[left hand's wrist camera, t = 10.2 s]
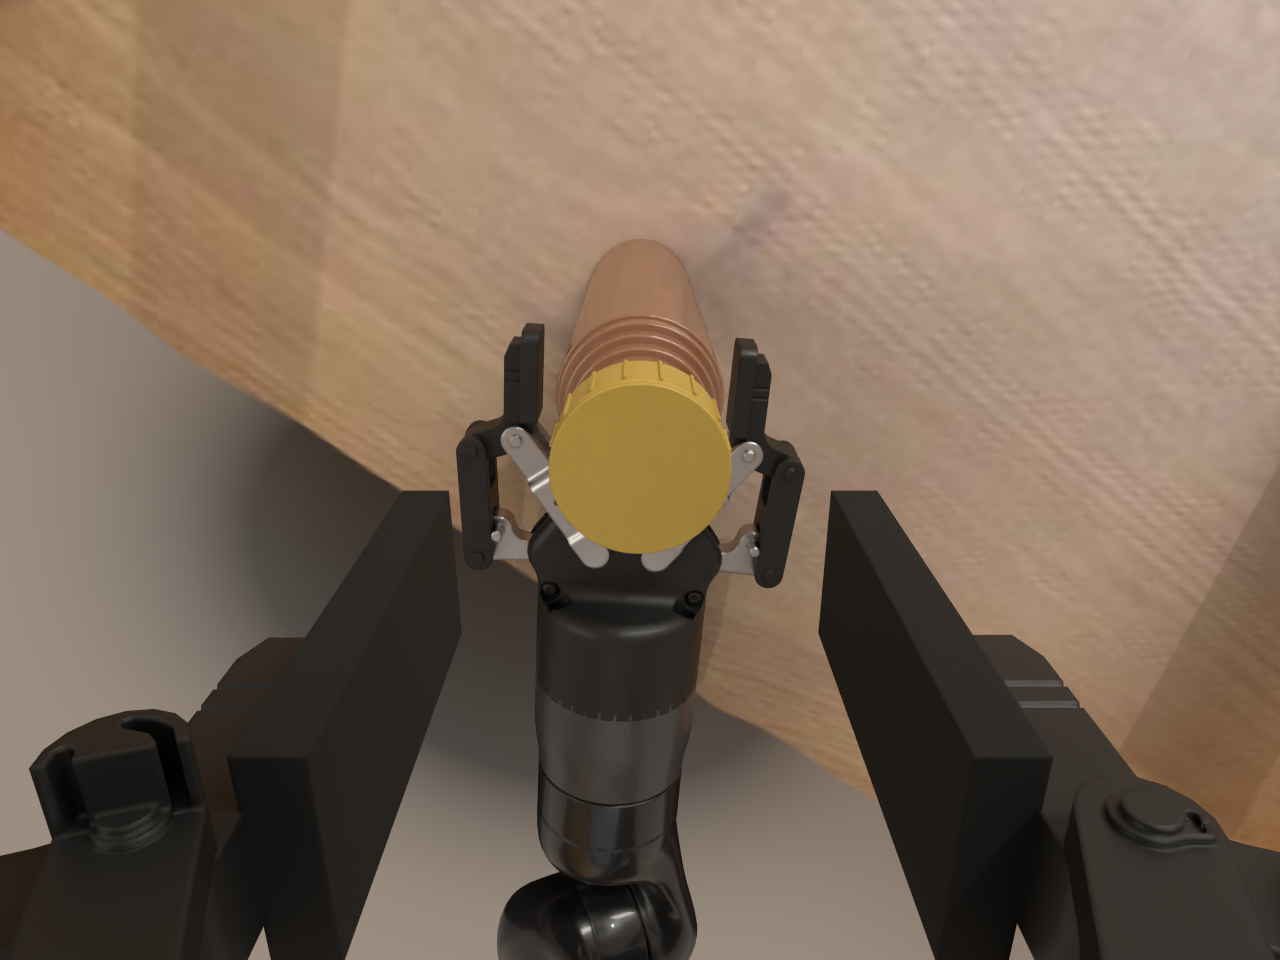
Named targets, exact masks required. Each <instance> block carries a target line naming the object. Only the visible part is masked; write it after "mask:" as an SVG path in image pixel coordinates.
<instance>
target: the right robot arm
mask: <svg viewBox="0 0 1280 960" xmlns="http://www.w3.org/2000/svg"><path fill="white" fill-rule="evenodd" d="M543 369H544V324H535V323H526V325H525V327H524V328H523V331H522V337H515V336H514V338H513V340H512V341H511V343H510V344H509V347H508V349H507V351H506V354H505V356H504V415H502V416H501V417H499V418H497V419H493V420H490V421H482V420H478V421H475V422H473V423H471V424H470V426H469V427H468V429H467V431H466V434H465V436H464V438H463V439H462V440H461V441H460V443H459V444H458V446H457V449H456V456H457V469H458V482H459V495H460V508H461V521H462V533H463V546H464V558H465V562H466V563H467V565H468V566H469V567H471V568H473V569H476V570H483V569H486V568H487V567H489V566H490V565H491V563H492V560H529V561H530V563H531V564H532V566H533V567H534V569H535V571H536V574H537V577H538V617H537V652H536V675H535V680H536V693H535V722H536V732H537V738H538V745H539V774H538V805H537V825H538V834H539V840H540V843H541V846H542V849H543V851H544V853H545V855H546V857H547V858H548V860H549V861H550V863H551V864H552V865H553V866H554V867H555V868H556V869H557V870H558V871H560V872H558V873H555V874H552V875H549V876H546V877H543V878H540V879H538V880H535V881H533V882H530V883H528V884H527V885H525V886H523V887H521V888H520V889H519V890H517V891H516V892H515V893H514V894H513V895H512V896H511V898H510V899H509V901H508V902H507V904H506V906H505V908H504V910H503V913H502V915H501V918H500V923H499V927H498V934H497V951H498V958H499V960H689V958H690V956H691V954H692V952H693V949H694V947H695V943H696V937H697V922H696V916H695V911H694V907H693V903H692V899H691V895H690V892H689V888H688V885H687V881H686V877H685V873H684V869H683V863H682V857H681V851H680V845H679V838H678V832H677V823H676V816H677V808H678V798H679V789H680V779H681V770H682V762H683V757H684V753H685V750H686V746H687V743H688V739H689V735H690V731H691V724H692V718H693V710H694V700H695V691H696V682H697V673H698V664H699V655H700V646H701V637H702V628H703V619H704V610H705V601H706V593H707V589H708V587H709V584H710V583H711V581H712V580H713V578H714V577H715V576H716V574H717V573H718V572H719V571H720V572H729V573H738V574H746V575H754V576H755V580H756V582H757V583H758V584H759V585H760V586H762V587H764V588H772V587H775V586H777V585H778V584H779V583H780V582H781V580H782V578H783V573H784V568H785V564H786V559H787V554H788V550H789V545H790V541H791V536H792V531H793V527H794V522H795V517H796V513H797V508H798V503H799V499H800V494H801V490H802V485H803V480H804V476H805V470H804V467H803V465H802V463H801V461H800V459H799V457H798V455H797V453H796V451H795V449H794V447H793V445H792V444H791V443H789V442H787V441H778V440H775V439H773V438H771V437H769V436H767V435H766V434H765V433H764V430H765V422H766V414H767V407H768V398H769V391H770V383H771V371H770V368H769V364H768V361H767V360H766V358H765V356H764V354H758V349H757V345H756V343H755V342H754V340H753V339H745V338H736V339H735V344H734V353H733V362H732V371H731V380H730V389H729V398H728V407H727V416H726V423H727V426H728V429H729V432H728V433H727V436H728V439H729V442H730V446H731V449H732V453H731V454H730V456H731V481H730V487H729V490H728V493H727V497H726V499H725V501H724V503H723V505H722V507H721V509H722V508H723V507H724V506H725V505H726V503H727V502H728V500H729V498H730V495H731V494H732V492H733V491H734V490H735V489H736V488H737V487H738V486H739V485H740V484H741V483H742V482H743V481H744V480H745V479H746V478H747V477H748V476H749V475H750V474H751V473H752V472H753V471H754V470H755V471H757V472H760V473H762V474H763V479H762V484H761V489H760V494H759V499H758V504H757V509H756V514H755V519H754V524H746V525H744V526H742V527H741V528H740V529H739V530H738V532H737V535H736V537H735V538H734V540H732V541H731V542H729V543H726V544H720V543H719V540H718V538H717V536H716V534H715V533H714V531H713V530H712V528H711V527H710V525H708V526H707V527H706V528H705V529H704V530H703V531H702V532H701V533H699V534H698V535H697V536H695V537H694V538H692V539H691V540H689V541H687V542H685V543H684V544H682V545H680V546H677V547H675V548H672V549H669V550H665V551H662V552H656V553H649V554H632V553H623V552H619V551H614V550H611V549H608V548H605V547H603V546H601V545H598V544H596V543H594V542H592V541H591V540H589V539H588V538H586V537H585V536H583V535H582V534H581V533H580V532H578V531H577V530H576V529H575V528H574V527H573V526H572V525H571V524H570V523H569V522H568V521H567V519H566V518H565V517H564V515H563V514H562V512H561V511H560V509H559V507H558V505H557V503H556V501H555V499H554V496H553V493H552V491H551V486H550V481H549V470H548V467H549V456H550V451H551V447H549V444H550V440H551V437H550V436H549V435H548V433H547V432H546V431H545V429H544V428H543V426H542V425H541V424H540V422H539V421H538V419H539V417H540V414H541V411H542V406H543ZM506 454H508V455H509V457H510V458H511V459H512V461H513V462H514V463H515V465H516V466H517V467H518V469H519V470H520V471H521V472H522V474H523V475H524V476H525V478H526V479H527V481H528V483H529V487H530V490H531V491H532V493H533V495H534V496H535V497H536V499H537V500H538V501H539V503H540V504H541V505H542V507H543V508H544V509H545V510H546V513H545V514H544V515H543V517H542V518H541V519H540V520H539V521H538V522H537V524H536V525H535V526H534V527H533V529H532V531H531V532H526V531H523V530H521V529H520V528H519V527H518V526H517V524H516V521H515V517H514V515H513V514H512V513H511V512H510V511H509V510H507V509H503V508H499V492H498V475H497V458H496V457H498V456H502V455H506ZM721 509H720V510H721Z"/></svg>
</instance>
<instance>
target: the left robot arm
mask: <svg viewBox="0 0 1280 960" xmlns="http://www.w3.org/2000/svg"><path fill="white" fill-rule="evenodd" d="M460 636H461V622H460V611H459V599H458V588H457V577H456V566H455V554H454V543H453V532H452V521H451V509H450V498H449V491H402V493H401V494H400V496H399V497H398V499H397V500H396V502H395V503H394V505H393V506H392V508H391V509H390V511H389V512H388V514H387V515H386V517H385V518H384V520H383V522H382V523H381V525H380V526H379V528H378V529H377V531H376V532H375V534H374V535H373V537H372V538H371V540H370V541H369V543H368V544H367V546H366V547H365V549H364V550H363V552H362V553H361V555H360V556H359V558H358V559H357V561H356V562H355V564H354V565H353V567H352V568H351V570H350V571H349V573H348V574H347V576H346V577H345V579H344V580H343V582H342V583H341V585H340V586H339V588H338V589H337V591H336V592H335V594H334V595H333V597H332V598H331V600H330V601H329V603H328V604H327V606H326V607H325V609H324V610H323V612H322V613H321V615H320V616H319V618H318V620H317V621H316V623H315V624H314V625H313V627H312V629H311V630H310V632H309V633H308V634H307V636H306V638H267V639H266V640H265V641H263V642H262V643H260V644H259V645H257V646H256V647H254V648H253V649H251V650H250V651H248V652H247V653H245V654H244V655H242V656H241V657H239V658H238V659H237V660H236V661H235V662H234V664H233V665H232V666H231V667H230V669H229V670H228V671H227V673H226V674H225V675H224V677H223V678H222V679H221V680H220V682H219V683H218V684H217V690H213V691H212V692H211V693H210V695H209V696H208V698H207V699H206V700H205V701H204V703H203V704H202V705H201V711H197V712H196V713H195V714H194V716H193V717H192V718H191V720H190V721H189V722H188V723H187V722H186V721H185V720H183V719H182V718H181V717H180V716H178V715H177V714H176V713H172V712H167V711H161V710H156V709H148V710H134V711H125V712H121V713H117V714H114V715H110V716H106V717H103V718H99V719H96V720H93V721H91V722H89V723H87V724H85V725H83V726H80V727H78V728H76V729H74V730H72V731H70V732H68V733H66V734H65V735H63V736H62V737H61V738H59V739H58V740H56V741H55V742H54V743H52V744H51V745H49V746H48V747H47V748H45V749H44V750H43V751H42V752H41V754H40V755H39V756H38V758H37V759H36V760H35V762H34V763H33V764H32V765H31V767H30V768H29V770H30V773H31V776H32V779H33V782H34V785H35V788H36V791H37V794H38V798H39V801H40V804H41V807H42V810H43V813H44V816H45V819H46V822H47V825H48V828H49V831H50V834H51V837H52V841H51V844H47V845H44V846H40V847H37V848H33V849H29V850H24V851H20V852H16V853H11V854H7V855H2V856H0V960H248V958H249V956H250V954H251V951H252V949H253V947H254V945H255V943H256V941H257V939H258V937H259V935H260V933H261V930H262V928H263V926H264V930H265V934H266V939H267V943H268V948H269V953H270V957H271V960H345V958H346V955H347V952H348V949H349V947H350V944H351V941H352V938H353V935H354V932H355V930H356V927H357V924H358V921H359V919H360V916H361V913H362V910H363V907H364V905H365V902H366V899H367V896H368V893H369V890H370V888H371V885H372V882H373V879H374V877H375V874H376V871H377V868H378V865H379V863H380V860H381V857H382V854H383V851H384V849H385V846H386V843H387V840H388V837H389V834H390V832H391V829H392V826H393V823H394V821H395V818H396V815H397V812H398V809H399V807H400V804H401V801H402V798H403V795H404V793H405V790H406V787H407V784H408V781H409V779H410V776H411V773H412V770H413V767H414V765H415V762H416V759H417V756H418V753H419V751H420V748H421V745H422V742H423V739H424V737H425V734H426V731H427V728H428V725H429V723H430V720H431V717H432V714H433V711H434V709H435V706H436V703H437V700H438V697H439V695H440V692H441V689H442V686H443V683H444V681H445V678H446V675H447V672H448V669H449V667H450V664H451V661H452V658H453V655H454V653H455V650H456V647H457V644H458V642H459V639H460ZM819 636H820V639H821V642H822V644H823V647H824V650H825V653H826V655H827V658H828V661H829V664H830V667H831V669H832V672H833V675H834V678H835V681H836V683H837V686H838V689H839V692H840V695H841V697H842V700H843V703H844V706H845V709H846V711H847V714H848V717H849V720H850V723H851V725H852V728H853V731H854V734H855V737H856V739H857V742H858V745H859V748H860V751H861V753H862V756H863V759H864V762H865V765H866V767H867V770H868V773H869V776H870V779H871V781H872V784H873V787H874V790H875V793H876V795H877V798H878V801H879V804H880V807H881V809H882V812H883V815H884V818H885V821H886V823H887V826H888V829H889V832H890V835H891V837H892V840H893V843H894V846H895V849H896V851H897V854H898V857H899V860H900V863H901V865H902V868H903V871H904V874H905V877H906V879H907V882H908V885H909V888H910V891H911V893H912V896H913V899H914V902H915V904H916V907H917V910H918V913H919V916H920V918H921V921H922V924H923V927H924V930H925V933H926V935H927V938H928V941H929V944H930V946H931V949H932V952H933V955H934V958H935V960H1009V957H1010V953H1011V948H1012V943H1013V939H1014V935H1015V930H1016V925H1017V924H1018V926H1019V928H1020V930H1021V932H1022V935H1023V937H1024V939H1025V941H1026V943H1027V945H1028V947H1029V949H1030V951H1031V953H1032V955H1033V958H1034V960H1280V852H1276V851H1272V850H1267V849H1263V848H1258V847H1254V846H1249V845H1245V844H1242V843H1239V842H1235V841H1232V840H1229V839H1228V838H1227V836H1226V835H1225V833H1224V832H1223V830H1222V829H1221V827H1220V826H1219V824H1218V823H1217V821H1216V820H1215V818H1214V817H1212V816H1211V815H1210V814H1209V813H1208V812H1206V811H1205V810H1204V809H1203V808H1202V807H1200V806H1199V805H1198V804H1197V803H1195V802H1194V801H1193V800H1192V799H1190V798H1188V797H1186V796H1184V795H1182V794H1180V793H1178V792H1176V791H1174V790H1172V789H1170V788H1169V787H1167V786H1165V785H1161V784H1158V783H1155V782H1151V781H1148V780H1145V779H1142V778H1138V777H1136V775H1135V774H1134V773H1133V771H1132V770H1131V769H1130V768H1129V766H1128V765H1127V764H1126V762H1125V761H1124V760H1123V758H1122V757H1121V756H1120V755H1119V753H1118V752H1117V751H1116V749H1115V748H1114V747H1113V745H1112V744H1111V743H1110V742H1109V740H1108V739H1107V738H1106V736H1105V735H1104V734H1103V733H1102V731H1101V730H1100V729H1099V727H1098V726H1097V725H1096V723H1095V722H1094V721H1093V720H1092V718H1091V717H1090V716H1089V714H1088V713H1087V712H1086V711H1085V709H1084V708H1080V706H1079V701H1078V700H1077V699H1076V698H1075V696H1074V695H1073V694H1072V692H1071V691H1070V690H1069V689H1068V687H1064V686H1063V681H1062V679H1061V678H1060V677H1059V676H1058V674H1057V673H1056V672H1055V670H1054V669H1053V668H1052V666H1051V665H1050V664H1049V663H1048V661H1047V660H1046V659H1045V657H1044V656H1042V655H1041V654H1039V653H1038V652H1036V651H1035V650H1033V649H1032V648H1030V647H1029V646H1027V645H1026V644H1024V643H1023V642H1021V641H1020V640H1018V639H1017V638H1016V637H1014V636H1013V635H973V634H972V633H971V631H970V630H969V628H968V627H967V625H966V624H965V622H964V621H963V619H962V618H961V616H960V615H959V613H958V612H957V610H956V609H955V607H954V606H953V604H952V603H951V601H950V600H949V598H948V597H947V595H946V594H945V592H944V591H943V589H942V588H941V586H940V585H939V583H938V582H937V580H936V579H935V577H934V576H933V574H932V573H931V571H930V570H929V568H928V567H927V565H926V564H925V562H924V561H923V559H922V558H921V556H920V555H919V553H918V552H917V550H916V549H915V547H914V546H913V544H912V543H911V541H910V540H909V538H908V537H907V535H906V534H905V532H904V531H903V529H902V528H901V526H900V525H899V523H898V522H897V520H896V518H895V517H894V515H893V514H892V512H891V511H890V509H889V508H888V506H887V505H886V503H885V502H884V500H883V499H882V497H881V496H880V494H879V493H878V491H831V498H830V509H829V521H828V532H827V543H826V554H825V566H824V577H823V588H822V599H821V610H820V622H819Z"/></svg>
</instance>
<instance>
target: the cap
mask: <svg viewBox="0 0 1280 960" xmlns="http://www.w3.org/2000/svg"><path fill="white" fill-rule="evenodd" d="M549 447H551V451H550V456H549V467H548V470H549V481H550V486H551V491H552V493H553V496H554V499H555V501H556V503H557V505H558V507H559V509H560V511H561V512H562V514H563V515H564V517H565V518H566V519H567V521H568V522H569V523H570V524H571V525H572V526H573V527H574V528H575V529H576V530H577V531H578V532H580V533H581V534H582V535H583V536H585V537H586V538H588V539H589V540H591V541H592V542H594V543H596V544H598V545H601V546H603V547H605V548H608V549H611V550H614V551H619V552H623V553H632V554H649V553H656V552H662V551H665V550H669V549H672V548H675V547H677V546H680V545H682V544H684V543H685V542H687V541H689V540H691V539H692V538H694V537H695V536H697V535H698V534H699V533H701V532H702V531H703V530H704V529H705V528H706V527H707V526H708V525H709V524H710V523H711V522H712V520H713V519H714V518H715V517H716V515H717V514H718V512H719V511H720V509H721V507H722V505H723V503H724V501H725V499H726V497H727V493H728V490H729V487H730V481H731V456H730V454H731V453H732V449H731V446H730V442H729V439H728V436H727V432H726V429H723V426H722V422H721V418H720V414H719V411H718V407H717V404H716V400H715V399H714V398H713V399H711V397H710V396H709V394H708V393H707V392H706V391H705V389H704V388H703V387H702V386H701V385H700V384H699V383H698V382H697V381H696V380H694V376H693V375H692V374H690V376H689V375H687V374H686V373H684V372H682V371H680V370H678V369H677V368H674V367H671V366H669V365H666V364H663V362H662V361H660V360H659V362H653V361H628V359H626V360H624V362H621V363H618V364H614V365H611V366H608V367H606V368H604V369H601V370H599V371H598V372H596V371H593V372H592V375H591V376H590V377H588V378H587V379H586V380H585V381H583V382H582V383H581V384H580V385H579V386H578V387H577V388H576V389H575V390H574V392H573V393H572V394H571V393H569V394H568V396H567V400H566V403H565V406H564V408H563V410H562V413H561V415H560V418H559V422H558V423H557V422H556V423H555V426H554V430H553V433H552V437H551V440H550V444H549Z"/></svg>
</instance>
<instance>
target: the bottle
mask: <svg viewBox="0 0 1280 960" xmlns="http://www.w3.org/2000/svg"><path fill="white" fill-rule="evenodd" d="M626 359H628V361H653V362H659V360H660V361H662V362H663V364H666V365H669V366H671V367H674V368H677V369H678V370H680V371H682V372H684V373H686V374H687V375H689V376H690V374H692V375H693V376H694V380H696V381H697V382H698V383H699V384H700V385H701V386H702V387H703V388H704V389H705V391H706V392H707V393H708V394H709V396H710V397H711V399H713V398H714V399H715V400H716V404H717V407H718V411H719V414H720V417H721V414H722V409H723V402H724V387H723V379H722V376H721V372H720V368H719V365H718V363H717V360H716V357H715V354H714V351H713V348H712V345H711V342H710V339H709V336H708V333H707V330H706V327H705V324H704V321H703V318H702V315H701V312H700V309H699V306H698V303H697V300H696V298H695V295H694V292H693V289H692V286H691V283H690V280H689V277H688V274H687V271H686V269H685V267H684V265H683V263H682V262H681V260H680V259H679V258H678V256H677V255H676V254H675V253H674V252H672V251H671V250H670V249H668V248H667V247H665V246H664V245H662V244H659V243H657V242H654V241H650V240H642V239H641V240H630V241H626V242H623V243H621V244H618V245H616V246H615V247H613V248H611V249H610V250H609V251H608V252H606V253H605V254H604V256H603V257H602V258H601V259H600V260H599V262H598V263H597V265H596V267H595V269H594V271H593V274H592V277H591V280H590V283H589V286H588V289H587V292H586V295H585V298H584V301H583V304H582V307H581V310H580V312H579V315H578V318H577V321H576V324H575V327H574V330H573V333H572V336H571V339H570V342H569V345H568V348H567V351H566V354H565V357H564V360H563V363H562V366H561V369H560V372H559V375H558V380H557V387H556V402H557V409H558V414H559V417H560V415H561V413H562V410H563V408H564V406H565V403H566V400H567V396H568V394H569V393H571V394H572V393H573V392H574V390H575V389H576V388H577V387H578V386H579V385H580V384H581V383H582V382H583V381H585V380H586V379H587V378H588V377H590V376H591V375H592V372H593V371H596V372H598V371H599V370H601V369H604V368H606V367H608V366H611V365H614V364H618V363H621V362H624V360H626Z"/></svg>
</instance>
